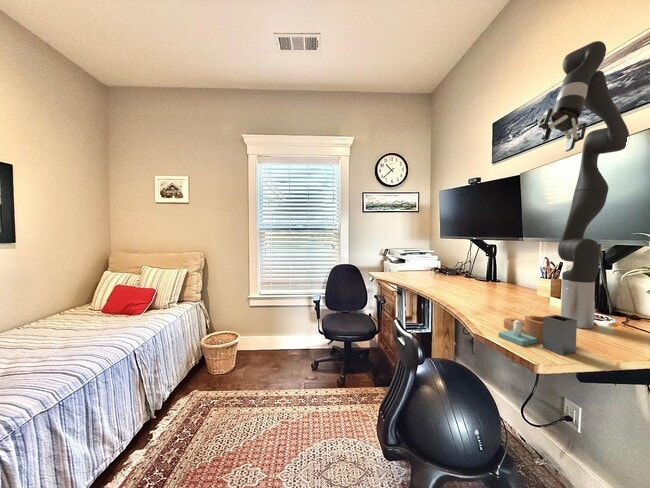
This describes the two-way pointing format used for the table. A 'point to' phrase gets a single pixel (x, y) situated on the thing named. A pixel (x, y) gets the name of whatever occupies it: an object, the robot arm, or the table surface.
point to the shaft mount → (517, 335)
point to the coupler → (559, 334)
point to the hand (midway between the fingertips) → (556, 145)
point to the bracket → (528, 326)
